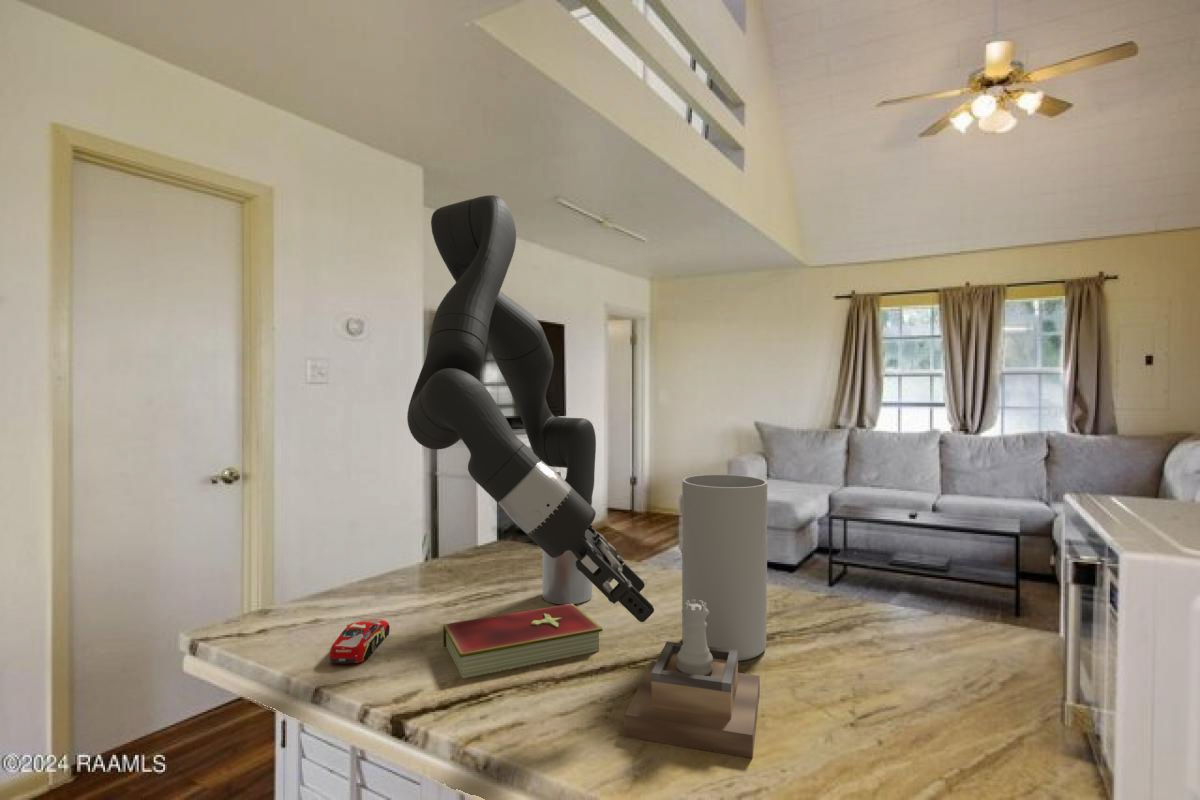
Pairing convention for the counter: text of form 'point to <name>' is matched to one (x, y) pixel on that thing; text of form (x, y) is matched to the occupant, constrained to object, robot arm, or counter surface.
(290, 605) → the counter surface
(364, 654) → the race car
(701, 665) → the rook chess piece
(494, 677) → the counter surface
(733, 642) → the cylinder vase
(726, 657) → the walnut plinth
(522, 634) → the hardcover book
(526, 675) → the counter surface
